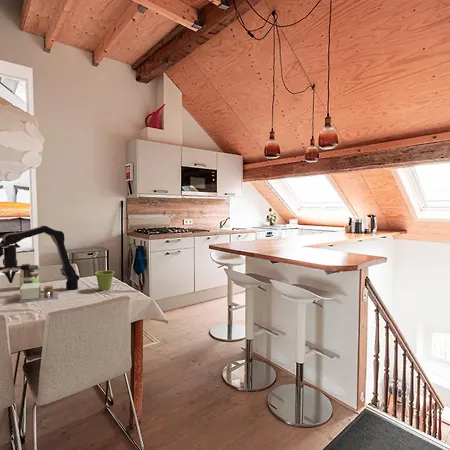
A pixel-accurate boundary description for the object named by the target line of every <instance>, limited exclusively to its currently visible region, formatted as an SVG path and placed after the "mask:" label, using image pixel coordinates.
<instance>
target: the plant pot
mask: <svg viewBox="0 0 450 450" xmlns="http://www.w3.org/2000/svg"><path fill="white" fill-rule="evenodd" d="M114 274H115V270H99V271H96V272H95V277H96V280H97V285H98V286H97V287H98V290H99V291H102V290H106V291H108V289H110V288H112V281H113V278H114ZM110 290H111V289H110Z"/></svg>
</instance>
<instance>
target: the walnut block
mask: <svg viewBox="0 0 450 450" xmlns="http://www.w3.org/2000/svg"><path fill="white" fill-rule="evenodd" d="M47 292H50V296H52V295H53V292H54V285H53V284H52V285H44V287H43V293H44V296H46V293H47Z"/></svg>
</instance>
